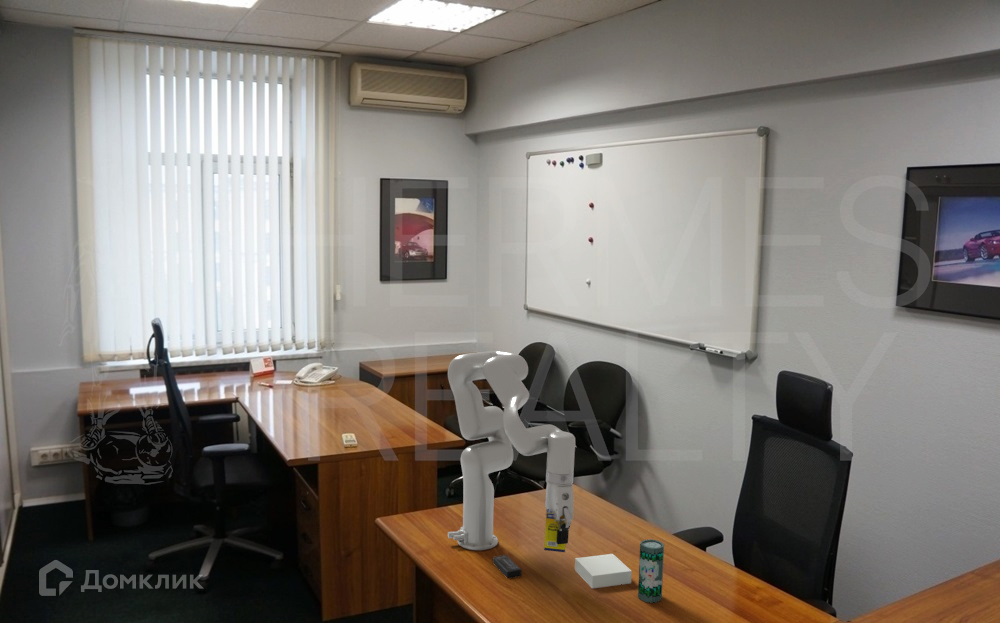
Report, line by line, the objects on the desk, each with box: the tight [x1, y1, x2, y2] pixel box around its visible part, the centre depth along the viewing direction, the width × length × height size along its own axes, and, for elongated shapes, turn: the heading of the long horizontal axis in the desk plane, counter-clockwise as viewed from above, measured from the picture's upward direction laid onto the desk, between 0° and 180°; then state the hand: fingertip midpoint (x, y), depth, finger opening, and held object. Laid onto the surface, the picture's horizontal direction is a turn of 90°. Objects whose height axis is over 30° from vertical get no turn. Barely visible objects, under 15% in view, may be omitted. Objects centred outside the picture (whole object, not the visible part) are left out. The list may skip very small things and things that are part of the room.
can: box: [637, 538, 665, 604], centre depth 207 cm, size 6×6×15 cm
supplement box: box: [543, 509, 567, 553], centre depth 214 cm, size 6×6×11 cm
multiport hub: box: [492, 554, 522, 579], centre depth 223 cm, size 4×11×2 cm, turn 23°
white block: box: [574, 553, 633, 589], centre depth 219 cm, size 12×12×4 cm
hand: (556, 536), depth 215 cm, fingers closed on supplement box, 7 cm apart
